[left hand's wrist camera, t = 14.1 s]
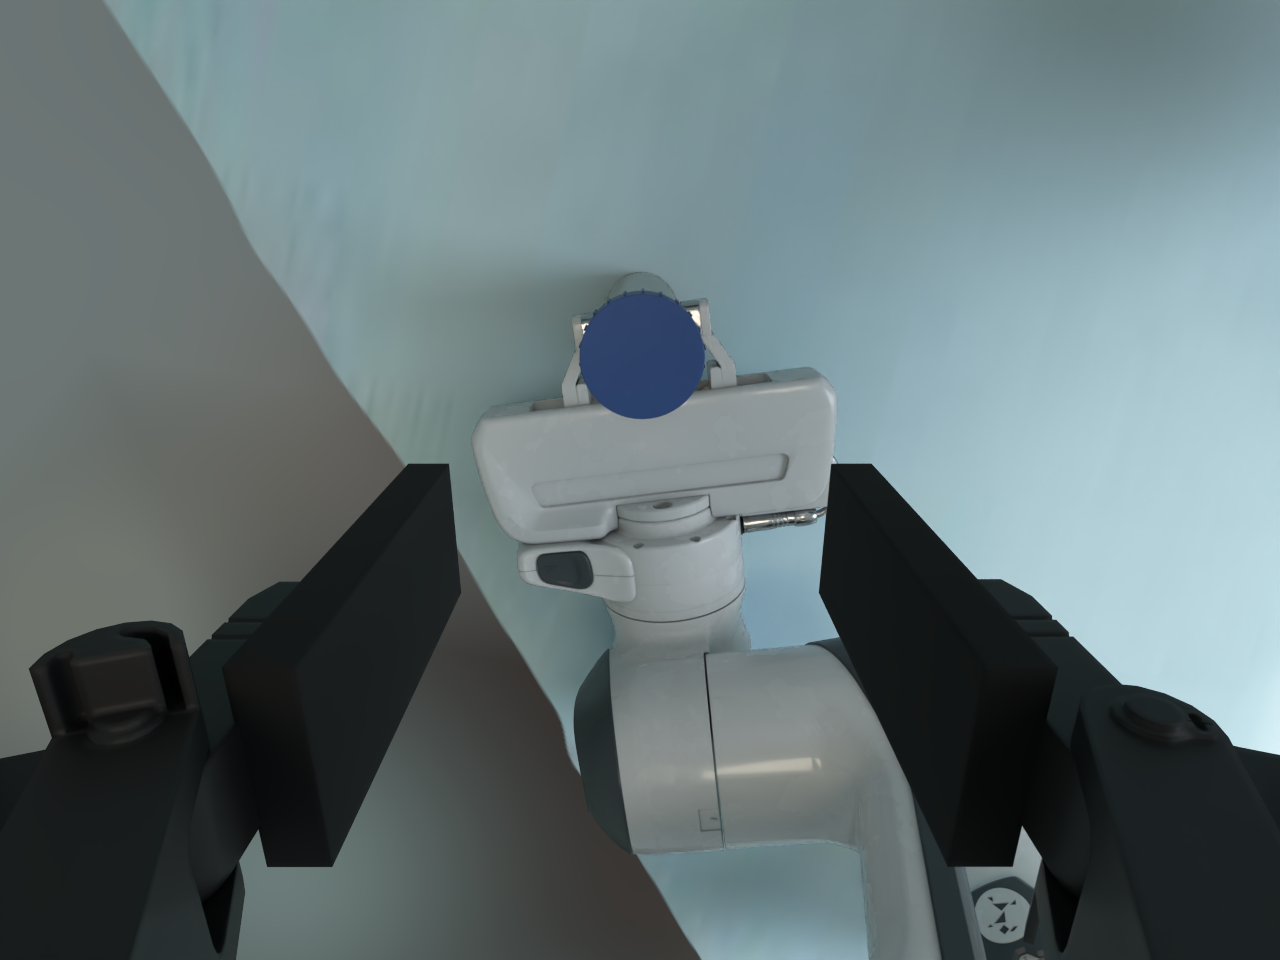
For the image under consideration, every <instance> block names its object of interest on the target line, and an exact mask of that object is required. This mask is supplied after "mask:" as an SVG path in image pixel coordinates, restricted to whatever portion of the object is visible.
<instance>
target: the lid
mask: <svg viewBox="0 0 1280 960" xmlns="http://www.w3.org/2000/svg"><path fill="white" fill-rule="evenodd" d="M584 331H585V332H584V335H583V338H582V341H581V342H580V344H579V348H580V357H579V360H580V362H579V366H580V368H581V372H582V376H583V379H584V382H585V384H586V385H587V387H588V389H589V391H590V392H591V394H592V395H593V396H594V397H595V398H596V400H597V401H598V402H599V403H601V404H602V405H603V406H604V407H605V408H607V409H609V410H610V411H612V412H614V413H616V414H618V415H621V416H624V417H627V418H633V419H652V418H657V417H660V416H663V415H666V414H668V413H670V412H672V411H674V410H676V409H677V408H679V407H680V406H681V405H682V404H684V403H685V402H686V401H687V400H688V399H689V397H690V396H691V395H692V394H693V392H694V391H695V389H696V388H697V386H698V385H699V382H700V379H701V376H702V373H703V369H704V368H705V364H704V361H705V351H704V350H706V348H705V346H704V343H703V340H702V337H701V334H700V333H701V329H700V327H699V326H696V324H695V322H694V320H693V318H692V314H691V312H690V311H688V312H687V310H686V309H685V308H684V307H683V306H682V305H680V304H679V301H678V300H677V299H675V300H674V299H672V298H670V297H668V296H666V295H663V294H662V292H661V291H660V292H659V293H658V292H652V291H644V289H642V290H641V291H632V292H627V291H624V293H623V294H621V295H618V296H616V297H614V298H612V299H610V298H609V299H608V300H607V302H606V303H605V304H604V305H603V306H601V307H600V308H599V309H598V310H595V311H594V313H593V317H592V318H591V320H590V322H589V324H588V325H587V324H586V325H585V327H584Z"/></svg>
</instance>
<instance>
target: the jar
mask: <svg viewBox="0 0 1280 960" xmlns="http://www.w3.org/2000/svg"><path fill="white" fill-rule="evenodd" d="M642 289H644V291H652V292H658V293H659V292H660V291H661V292H662V294H663V295H666V296H668V297H670V298H672V299H674V300H675V299H676V297H675V295H674V293H673V291H672V289H671V287H670V286H669V285H668V284H667V283H666V282H665V281H664V280H663V279H662V278H660V277H658V276H656V275H654V274H651V273H646V272H636V273H632V274H629V275H626V276H625V277H623V278H621V279H620V280H619V281H618V282H616V283H615V285H614V286H613V287H612V289H611V290H610V292H609V294H608V297H607V300H608V299H609V298H610V299H612V298H614V297H616V296H618V295H621V294H623V293H624V291H627V292H632V291H641V290H642ZM607 300H606V302H607ZM606 302H605V303H606Z"/></svg>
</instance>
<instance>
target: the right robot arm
mask: <svg viewBox="0 0 1280 960" xmlns="http://www.w3.org/2000/svg"><path fill="white" fill-rule="evenodd" d="M680 305H682V306H683V307H684V308H685V309H686V310H687V312H688V311H690V312H691V314H692V318H693V320H694V322H695V324H696V326H699V327H700V329H701V333H700V334H701V337H702V340H703V342H704V344H705V345H706V347H707V348H708V349H709V351H710V352H711V354H712V355H713V356H714V358H715V359H716V360H717V361H716V360H708V362H707V373H708V379H705V380H700V382H699V385H698V386H697V388H696V389H695V391H694V392H693V394H692V395H691V396H690V397H689V399H688V400H687V401H686V402H685V403H684V404H682V405H681V406H680V407H679V408H677V409H676V410H674V411H672V412H670V413H668V414H666V415H663V416H660V417H657V418H652V419H633V418H627V417H624V416H621V415H618V414H616V413H614V412H612V411H610V410H609V409H607V408H605V407H604V406H603V405H602V404H601V403H599V402H598V401H597V400H596V398H595V397H594V396H593V395H592V394H591V392H590V391H589V389H588V387H587V385H586V384H585V382H584V379H583V376H581V377H580V378H579V377H578V376H579V374H580V371H581V368H580V366H579V362H580V360H579V357H580V348H579V344H580V342H581V341H582V338H583V335H584V332H585V331H584V327H585V325H586V324H587V325H588V324H589V322H590V320H591V318H592V317H593V313H586V314H578V315H573V317H572V328H573V334H574V341H575V347H576V349H575V352H574V354H573V357H572V359H571V362H570V364H569V367H568V370H567V372H566V375H565V377H564V380H563V383H562V385H561V388H562V394H563V397H561V398H553V399H545V400H537V401H529V402H521V403H513V404H504V405H496V406H492V407H490V408H488V409H487V410H486V412H485V413H484V414H483V415H482V416H481V417H480V419H479V420H478V422H477V423H476V425H475V427H474V429H473V432H472V436H471V442H472V448H473V453H474V457H475V461H476V465H477V469H478V472H479V476H480V479H481V482H482V485H483V488H484V491H485V494H486V497H487V500H488V502H489V505H490V507H491V510H492V513H493V515H494V517H495V519H496V521H497V523H498V524H499V526H500V527H501V528H502V530H503V531H504V532H505V533H506V534H507V535H508V536H510V537H511V538H513V539H515V540H516V541H519V547H518V553H517V566H518V572H519V575H520V577H521V579H522V580H523V581H525V582H526V583H529V584H532V585H536V586H541V587H548V588H554V589H560V590H566V591H571V592H577V593H582V594H587V595H591V596H595V597H600V598H603V601H604V604H605V606H606V608H607V610H608V612H609V614H610V617H611V619H612V622H613V625H614V631H615V635H614V641H613V648H612V649H608V650H607V651H606V652H605V653H604V654H603V655H602V656H601V657H600V658H599V660H598V661H597V662H596V664H595V665H594V667H593V669H592V670H591V671H590V673H589V674H588V676H587V678H586V679H585V681H584V682H583V684H582V685H581V687H580V689H579V691H578V694H577V697H576V701H575V707H574V735H575V743H576V749H577V755H578V761H579V766H580V772H581V777H582V782H583V787H584V792H585V798H586V803H587V808H588V812H589V813H590V814H591V816H592V817H593V818H594V820H595V821H596V822H597V824H598V825H599V826H600V827H601V828H602V829H603V831H604V832H605V833H606V834H607V835H608V836H609V837H610V838H611V839H612V840H613V841H614V842H615V843H616V844H617V845H618V846H620V847H621V848H622V849H624V850H625V851H626V852H628V853H630V854H631V855H633V854H645V855H663V854H685V853H700V852H714V851H724V841H725V848H726V849H736V848H751V847H765V846H780V845H795V844H809V843H828V844H835V845H840V846H844V847H847V848H850V849H853V850H855V851H857V852H859V853H860V858H861V870H862V882H863V895H864V907H865V919H866V932H867V944H868V956H869V960H1045V959H1044V952H1043V945H1042V938H1041V931H1040V927H1039V928H1038V930H1037V934H1036V937H1035V941H1034V945H1033V944H1030V943H1027V942H1023V937H1024V930H1025V924H1026V920H1027V916H1028V912H1029V908H1030V904H1031V900H1032V896H1033V892H1034V887H1035V883H1036V879H1037V875H1038V871H1039V867H1040V863H1041V859H1042V857H1041V856H1040V854H1039V852H1038V851H1037V849H1036V848H1035V846H1034V844H1033V843H1032V841H1031V840H1030V838H1029V836H1028V835H1027V833H1026V832H1025V830H1024V828H1023V827H1022V829H1021V833H1020V838H1019V842H1018V846H1017V851H1016V855H1015V859H1014V864H1013V867H948V866H947V864H946V862H945V860H944V858H943V856H942V854H941V851H940V849H939V847H938V845H937V843H936V841H935V839H934V837H933V834H932V832H931V830H930V828H929V826H928V824H927V822H926V819H925V817H924V815H923V813H922V811H921V809H920V807H919V805H918V802H917V800H916V798H915V796H914V794H913V792H912V790H911V788H910V785H909V783H908V781H907V779H906V777H905V775H904V773H903V771H902V768H901V766H900V764H899V762H898V760H897V758H896V756H895V753H894V751H893V749H892V747H891V745H890V743H889V741H888V739H887V736H886V734H885V732H884V730H883V728H882V726H881V724H880V722H879V719H878V717H877V715H876V713H875V711H874V709H873V707H872V705H871V702H870V700H869V698H868V696H867V694H866V692H865V690H864V687H863V685H862V683H861V681H860V679H859V677H858V675H857V673H856V670H855V668H854V666H853V664H852V662H851V660H850V658H849V656H848V653H847V651H846V649H845V647H844V645H843V643H842V641H841V639H840V637H839V638H833V639H828V640H822V641H816V642H810V643H807V644H806V645H803V646H792V647H780V648H769V649H758V650H751V640H750V636H749V632H748V630H747V628H746V625H745V623H744V620H743V617H742V603H743V599H744V595H745V588H746V582H745V570H744V558H743V547H742V537H741V535H743V533H747V532H755V531H763V530H770V529H773V528H774V529H775V528H777V527H778V528H779V527H782V526H783V527H784V526H793V525H794V526H806V525H810V524H813V523H816V522H817V518H818V517H821V516H823V515H825V514H826V512H827V502H828V491H829V481H830V470H831V464H838V462H837V460H836V459H835V457H834V456H833V454H834V446H835V436H836V422H837V395H836V391H835V389H834V387H833V385H832V384H831V383H830V382H829V380H828V379H827V378H826V377H825V376H823V375H822V374H821V373H819V372H818V371H817V370H815V369H813V368H811V367H802V368H794V369H786V370H777V371H769V372H761V373H753V374H745V375H737V376H736V370H735V364H734V362H733V360H732V359H731V357H730V356H729V354H728V353H727V351H726V350H725V349H724V347H723V346H722V344H721V343H720V342H719V340H718V339H717V337H716V336H715V335H714V333H713V332H712V330H711V322H710V311H709V304H708V300H707V298H702V299H695V300H688V301H681V302H680ZM821 507H823V508H822V509H820V510H817V511H816V509H815V508H821ZM740 515H741V516H740ZM720 806H721V807H720ZM721 815H722V818H721ZM722 824H723V829H722ZM723 833H724V841H723Z"/></svg>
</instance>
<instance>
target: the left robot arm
mask: <svg viewBox="0 0 1280 960" xmlns="http://www.w3.org/2000/svg"><path fill="white" fill-rule="evenodd" d="M460 594H461V587H460V576H459V566H458V555H457V544H456V534H455V523H454V512H453V502H452V491H451V481H450V470H449V464H408V465H407V466H406V467H405V468H404V469H403V470H402V471H401V473H400V474H399V475H398V476H397V477H396V478H395V479H394V480H393V481H392V482H391V483H390V485H389V486H388V487H387V488H386V489H385V490H384V491H383V492H382V493H381V494H380V495H379V496H378V498H377V499H376V500H375V501H374V502H373V503H372V504H371V505H370V506H369V507H368V509H367V510H366V511H365V512H364V513H363V514H362V515H361V516H360V517H359V518H358V519H357V520H356V522H355V523H354V524H353V525H352V526H351V527H350V528H349V529H348V530H347V531H346V532H345V534H344V535H343V536H342V537H341V538H340V539H339V540H338V541H337V542H336V543H335V544H334V545H333V547H332V548H331V549H330V550H329V551H328V552H327V553H326V554H325V555H324V556H323V558H322V559H321V560H320V561H319V562H318V563H317V564H316V565H315V566H314V567H313V568H312V569H311V571H310V572H309V573H308V574H307V575H306V576H305V577H304V578H303V579H302V580H301V581H300V582H278V583H276V584H275V585H273V586H271V587H269V588H267V589H265V590H264V591H262V592H260V593H258V594H256V595H255V596H253V597H251V598H249V599H248V600H247V601H246V602H245V603H244V604H243V605H242V606H241V607H240V608H239V609H238V610H237V611H236V612H235V613H234V614H233V615H232V616H231V617H230V618H229V621H228V623H224V624H223V625H222V626H221V627H220V628H219V629H217V630H216V631H215V632H214V633H213V634H212V639H208V640H206V641H205V642H204V643H203V644H202V645H201V646H200V647H199V648H198V649H197V650H196V651H195V652H194V653H193V654H192V655H191V656H190V657H189V655H188V651H187V647H186V643H185V639H184V635H183V631H182V630H181V629H179V628H178V627H176V626H174V625H173V624H171V623H165V622H157V621H140V622H128V623H122V624H118V625H114V626H109V627H105V628H100V629H96V630H94V631H91V632H88V633H86V634H83V635H81V636H78V637H75V638H73V639H70V640H68V641H66V642H64V643H62V644H61V645H59V646H57V647H55V648H54V649H52V650H50V651H48V652H47V653H45V654H44V655H43V656H41V657H40V658H39V659H38V660H37V661H36V662H35V663H34V664H33V665H32V666H31V667H30V668H29V671H30V674H31V677H32V679H33V683H34V686H35V689H36V692H37V694H38V697H39V701H40V704H41V706H42V710H43V712H44V715H45V718H46V721H47V724H48V727H49V730H50V733H51V736H52V739H51V741H50V743H49V744H48V746H47V748H46V750H42V751H37V752H32V753H26V754H22V755H17V756H12V757H6V758H1V759H0V960H236V954H237V947H238V940H239V933H240V925H241V918H242V911H243V904H244V896H245V888H244V881H243V875H242V871H241V867H240V863H239V860H240V858H241V856H242V855H243V853H244V851H245V850H246V848H247V847H248V845H249V843H250V842H251V840H252V839H253V837H254V835H255V834H256V832H257V830H258V829H259V833H260V837H261V842H262V846H263V851H264V855H265V859H266V864H267V867H332V866H333V864H334V862H335V860H336V858H337V856H338V854H339V851H340V849H341V847H342V845H343V843H344V841H345V839H346V837H347V834H348V832H349V830H350V828H351V826H352V824H353V822H354V819H355V817H356V815H357V813H358V811H359V809H360V807H361V805H362V802H363V800H364V798H365V796H366V794H367V792H368V790H369V788H370V785H371V783H372V781H373V779H374V777H375V775H376V773H377V771H378V768H379V766H380V764H381V762H382V760H383V758H384V756H385V753H386V751H387V749H388V747H389V745H390V743H391V741H392V739H393V736H394V734H395V732H396V730H397V728H398V726H399V724H400V722H401V719H402V717H403V715H404V713H405V711H406V709H407V707H408V705H409V702H410V700H411V698H412V696H413V694H414V692H415V690H416V687H417V685H418V683H419V681H420V679H421V677H422V675H423V673H424V670H425V668H426V666H427V664H428V662H429V660H430V658H431V656H432V653H433V651H434V649H435V647H436V645H437V643H438V641H439V639H440V636H441V634H442V632H443V630H444V628H445V626H446V624H447V621H448V619H449V617H450V615H451V613H452V611H453V609H454V607H455V604H456V602H457V600H458V598H459V596H460ZM819 594H820V596H821V598H822V600H823V602H824V604H825V607H826V609H827V611H828V613H829V615H830V617H831V619H832V621H833V624H834V626H835V628H836V630H837V632H838V634H839V636H840V639H841V641H842V643H843V645H844V647H845V649H846V651H847V653H848V656H849V658H850V660H851V662H852V664H853V666H854V668H855V670H856V673H857V675H858V677H859V679H860V681H861V683H862V685H863V687H864V690H865V692H866V694H867V696H868V698H869V700H870V702H871V705H872V707H873V709H874V711H875V713H876V715H877V717H878V719H879V722H880V724H881V726H882V728H883V730H884V732H885V734H886V736H887V739H888V741H889V743H890V745H891V747H892V749H893V751H894V753H895V756H896V758H897V760H898V762H899V764H900V766H901V768H902V771H903V773H904V775H905V777H906V779H907V781H908V783H909V785H910V788H911V790H912V792H913V794H914V796H915V798H916V800H917V802H918V805H919V807H920V809H921V811H922V813H923V815H924V817H925V819H926V822H927V824H928V826H929V828H930V830H931V832H932V834H933V837H934V839H935V841H936V843H937V845H938V847H939V849H940V851H941V854H942V856H943V858H944V860H945V862H946V864H947V866H948V867H1013V864H1014V859H1015V855H1016V851H1017V846H1018V842H1019V838H1020V833H1021V829H1022V827H1023V828H1024V830H1025V832H1026V833H1027V835H1028V836H1029V838H1030V840H1031V841H1032V843H1033V844H1034V846H1035V848H1036V849H1037V851H1038V852H1039V854H1040V856H1041V857H1042V859H1041V863H1040V867H1039V871H1038V875H1037V879H1036V883H1035V887H1034V892H1033V896H1032V900H1031V904H1030V908H1029V912H1028V916H1027V920H1026V924H1025V930H1024V937H1023V942H1027V943H1030V944H1033V945H1034V941H1035V937H1036V934H1037V930H1038V928H1039V927H1040V931H1041V938H1042V945H1043V952H1044V959H1045V960H1280V755H1277V754H1271V753H1266V752H1261V751H1256V750H1251V749H1246V748H1241V747H1236V746H1233V745H1232V743H1231V741H1230V739H1229V737H1228V736H1227V735H1226V734H1225V733H1224V732H1223V730H1222V729H1221V728H1220V727H1219V726H1218V725H1217V723H1216V722H1215V721H1214V720H1212V719H1211V718H1209V717H1208V716H1206V715H1205V714H1203V713H1202V712H1201V711H1199V710H1198V709H1196V708H1195V707H1193V706H1192V705H1189V704H1187V703H1185V702H1183V701H1180V700H1178V699H1176V698H1174V697H1171V696H1169V695H1167V694H1165V693H1161V692H1157V691H1154V690H1150V689H1146V688H1143V687H1139V686H1132V685H1122V684H1121V683H1120V682H1119V681H1118V680H1117V679H1116V678H1115V677H1114V676H1113V675H1112V674H1111V673H1110V672H1109V671H1108V670H1107V669H1106V668H1105V667H1104V666H1103V665H1102V664H1101V663H1099V662H1098V661H1097V660H1096V659H1095V658H1094V657H1093V656H1092V655H1091V654H1090V653H1089V652H1088V651H1087V650H1086V649H1085V648H1084V647H1083V646H1082V645H1081V644H1080V643H1079V642H1078V641H1077V640H1076V639H1075V638H1074V637H1069V632H1068V631H1067V630H1066V629H1065V628H1064V627H1063V626H1062V625H1061V624H1060V623H1059V622H1058V621H1057V620H1052V615H1051V614H1050V613H1049V612H1048V611H1046V610H1045V609H1044V608H1043V607H1042V606H1041V605H1040V604H1039V603H1038V602H1037V601H1036V600H1035V599H1034V598H1033V597H1032V596H1031V595H1029V594H1027V593H1025V592H1023V591H1021V590H1020V589H1018V588H1016V587H1014V586H1012V585H1010V584H1009V583H1007V582H1005V581H1003V580H1001V579H977V578H976V577H975V576H974V575H973V574H972V573H971V572H970V571H969V569H968V568H967V567H966V566H965V565H964V564H963V563H962V562H961V561H960V560H959V559H958V557H957V556H956V555H955V554H954V553H953V552H952V551H951V550H950V549H949V548H948V547H947V545H946V544H945V543H944V542H943V541H942V540H941V539H940V538H939V537H938V536H937V535H936V534H935V532H934V531H933V530H932V529H931V528H930V527H929V526H928V525H927V524H926V523H925V522H924V520H923V519H922V518H921V517H920V516H919V515H918V514H917V513H916V512H915V511H914V510H913V508H912V507H911V506H910V505H909V504H908V503H907V502H906V501H905V500H904V499H903V498H902V496H901V495H900V494H899V493H898V492H897V491H896V490H895V489H894V488H893V487H892V486H891V484H890V483H889V482H888V481H887V480H886V479H885V478H884V477H883V476H882V475H881V474H880V473H879V471H878V470H877V469H876V468H875V467H874V466H873V465H872V464H831V470H830V481H829V491H828V502H827V512H826V523H825V534H824V544H823V555H822V566H821V576H820V587H819Z"/></svg>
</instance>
